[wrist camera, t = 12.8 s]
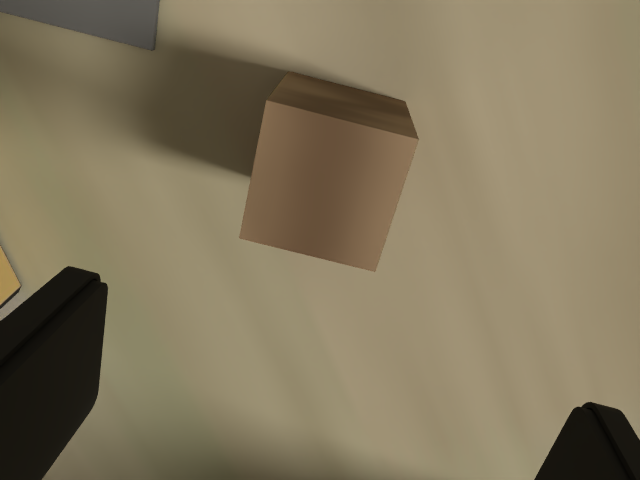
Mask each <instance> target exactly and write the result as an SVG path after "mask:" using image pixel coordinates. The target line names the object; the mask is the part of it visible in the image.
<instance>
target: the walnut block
mask: <svg viewBox="0 0 640 480" xmlns="http://www.w3.org/2000/svg"><path fill="white" fill-rule="evenodd" d="M418 141H419V139H418V136H417V133H416V130H415V127H414V125H413V122H412V119H411V116H410V113H409V111H408V108H407V105H406V102H405V101H401V100H397V99H394V98H390V97H386V96H382V95H378V94H374V93H371V92H367V91H363V90H359V89H355V88H351V87H348V86H344V85H340V84H336V83H332V82H328V81H325V80H321V79H317V78H313V77H309V76H305V75H302V74H298V73H294V72H290V71H288V73H287V74H286V75H285V77H284V78H283V79H282V80H281V82H280V83H279V84H278V86H277V87H276V88H275V89H274V91H273V92H272V93H271V95H270V96H269V97H268V99H267V100H266V104H265V109H264V114H263V119H262V124H261V129H260V135H259V140H258V145H257V150H256V155H255V160H254V165H253V170H252V175H251V180H250V185H249V191H248V196H247V201H246V206H245V211H244V216H243V221H242V226H241V231H240V236H239V238H240V239H244V240H248V241H252V242H256V243H260V244H264V245H268V246H272V247H276V248H280V249H285V250H289V251H293V252H297V253H301V254H305V255H309V256H313V257H317V258H321V259H325V260H329V261H333V262H337V263H341V264H345V265H349V266H353V267H358V268H362V269H366V270H370V271H374V272H375V271H376V268H377V265H378V262H379V259H380V256H381V253H382V250H383V247H384V244H385V241H386V238H387V235H388V232H389V228H390V225H391V222H392V219H393V216H394V213H395V210H396V207H397V204H398V201H399V198H400V195H401V192H402V189H403V186H404V183H405V180H406V177H407V174H408V171H409V168H410V165H411V162H412V159H413V156H414V153H415V150H416V147H417V144H418Z"/></svg>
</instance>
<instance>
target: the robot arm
mask: <svg viewBox="0 0 640 480" xmlns="http://www.w3.org/2000/svg"><path fill="white" fill-rule="evenodd" d="M107 294H108V286H107V284H106V283H103V282H100V275H99V274H98V273H94V272H90V271H86V270H83V269H79V268H75V267H71V266H68V267H66V268H64V269H63V270H62V271H61V272H59V273H58V274H57V275H56V276H55V277H53V278H52V279H51V280H50V281H49V282H47V283H46V284H45V285H44V286H43V287H41V288H40V289H39V290H38V291H37V292H35V293H34V294H33V295H32V296H31V297H29V298H28V299H27V300H26V301H24V302H23V303H22V304H21V305H20V306H18V307H17V308H16V309H15V310H14V311H12V312H11V313H10V314H9V315H8V316H6V317H5V318H4V319H3V320H1V321H0V480H42V478H43V477H44V476H45V474H46V473H47V471H48V470H49V469H50V467H51V466H52V464H53V463H54V462H55V460H56V459H57V457H58V456H59V455H60V453H61V452H62V450H63V449H64V448H65V446H66V445H67V443H68V442H69V441H70V439H71V438H72V436H73V435H74V434H75V432H76V431H77V429H78V428H79V427H80V425H81V424H82V422H83V421H84V420H85V418H86V417H87V415H88V414H89V413H90V411H91V409H92V408H93V406H94V404H95V401H96V399H97V395H98V390H99V379H100V368H101V358H102V347H103V336H104V326H105V315H106V304H107ZM534 480H640V440H639V438H638V437H637V435H636V433H635V432H634V430H633V428H632V427H631V425H630V424H629V422H628V420H627V419H626V417H625V415H624V414H623V413H622V412H621V411H620V410H618V409H615V408H612V407H608V406H604V405H600V404H596V403H592V402H587V403H585V404H584V405H583V406H582V407H576V408H574V409H573V410H572V412H571V414H570V415H569V417H568V419H567V421H566V423H565V425H564V426H563V428H562V430H561V432H560V434H559V435H558V437H557V439H556V441H555V443H554V445H553V446H552V448H551V450H550V452H549V454H548V456H547V457H546V459H545V461H544V463H543V465H542V467H541V468H540V470H539V472H538V474H537V476H536V478H535V479H534Z"/></svg>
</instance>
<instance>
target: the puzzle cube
mask: <svg viewBox="0 0 640 480" xmlns="http://www.w3.org/2000/svg"><path fill="white" fill-rule="evenodd" d="M20 288H21V284H20V282H19V280H18V278H17V276H16V274H15V272H14V270H13V269H12V267H11V265H10V263H9V261H8V259H7V257H6V255H5V253H4V251H3V249H2V247H1V245H0V309H1V308H2V307H3V306H4V305H5V304H6V303H7V302H8V301H10V300H11V299H12V298H13V297H14V296H15V295H16V294H17V293H18V292H19V290H20Z"/></svg>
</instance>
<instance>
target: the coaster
mask: <svg viewBox="0 0 640 480" xmlns="http://www.w3.org/2000/svg"><path fill="white" fill-rule="evenodd" d="M159 1H160V0H0V12H3V13H7V14H11V15H15V16H19V17H23V18H27V19H31V20H35V21H39V22H42V23H46V24H50V25H54V26H58V27H62V28H66V29H70V30H74V31H78V32H82V33H86V34H89V35H93V36H97V37H101V38H105V39H109V40H113V41H117V42H121V43H125V44H129V45H133V46H136V47H140V48H144V49H148V50H155V41H156V31H157V21H158V11H159Z"/></svg>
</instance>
